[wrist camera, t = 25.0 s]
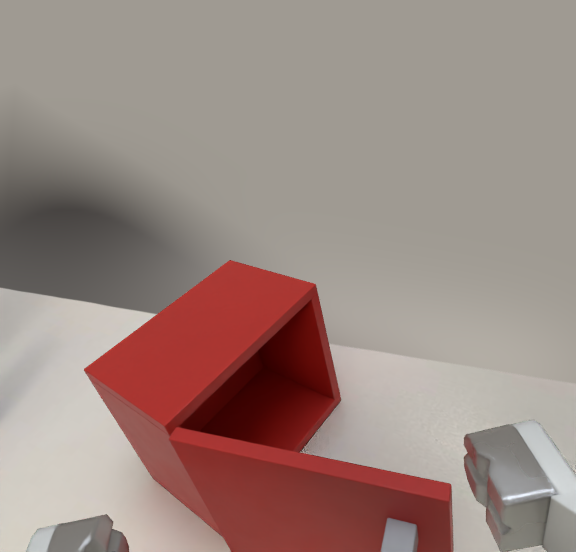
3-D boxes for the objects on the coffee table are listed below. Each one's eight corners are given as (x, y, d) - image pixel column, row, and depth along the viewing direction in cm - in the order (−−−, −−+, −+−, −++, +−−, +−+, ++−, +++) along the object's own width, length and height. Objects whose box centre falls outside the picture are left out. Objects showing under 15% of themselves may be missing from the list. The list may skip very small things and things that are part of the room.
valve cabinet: (341, 400, 48) (316, 283, 40) (228, 542, 38) (164, 426, 30) (264, 364, 55) (229, 259, 46) (152, 477, 45) (83, 369, 37)
